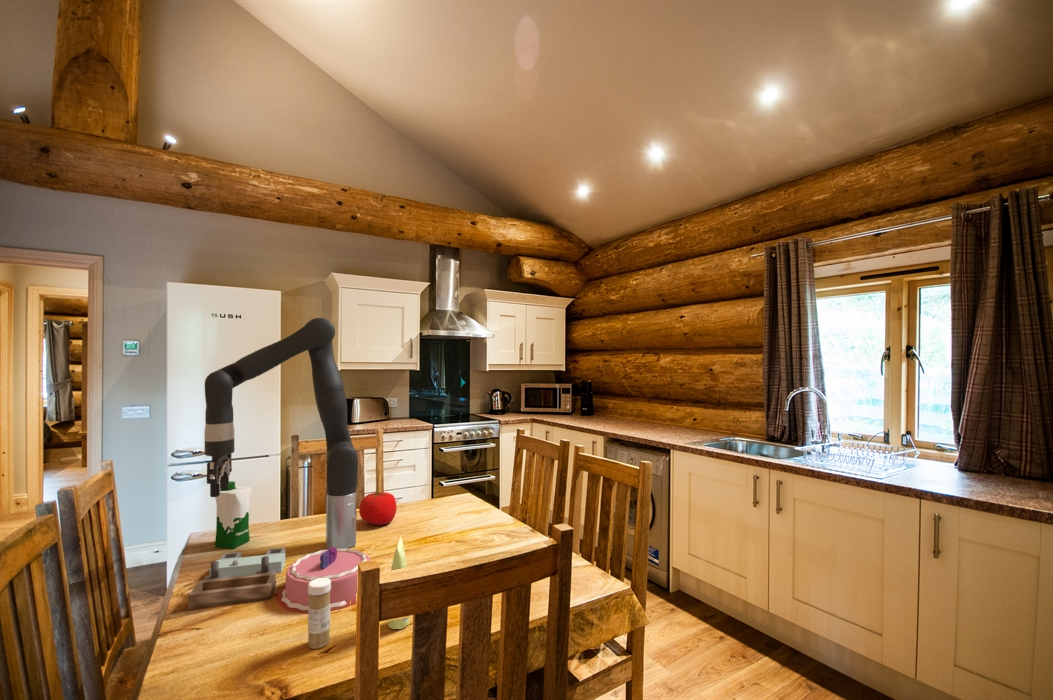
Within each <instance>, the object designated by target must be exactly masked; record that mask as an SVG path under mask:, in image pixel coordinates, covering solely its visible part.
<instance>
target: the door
mask: <svg viewBox="0 0 1053 700" xmlns="http://www.w3.org/2000/svg"><path fill="white" fill-rule="evenodd" d="M264 556H269V569H275V572H276V574H279V573H280V574H282V572H283V569H284V568H285V565H286V547H277V548H268V550H267V551H266V553H265V554H263V555H252V556H244V557H243V556H242V551H235V552H228V553H226V552H225V553H223V554H222V555H221V556H220V558H219V559H216V560H215V561H219V575H223V574H226V578H228V577H237V576H246V575H254V574H255V573H256V571H259V570H261V558H262V557H264ZM208 576H211V567H210V568H209V575H208Z"/></svg>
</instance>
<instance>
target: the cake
mask: <svg viewBox="0 0 1053 700" xmlns="http://www.w3.org/2000/svg"><path fill="white" fill-rule="evenodd" d="M363 561H370V562H371V559H370V556H369V555H368V554H366V553H365V552H362V551H360V550H358V549H351V548H344V549H337V548H335V547H331V548H329V549H328V548H327V549H321V550H319V551H316V552H311V553H307V554H306V555H305V556H303V557H300V558H298V559H297V560H295V561H294V562H293V563H292V562H291V564H289V566H288V567H287V569H286V572H285V585H284V586H282V588H281V589H280V590H279V591H278V593H277V596H276V601H277V604H278V605H279V606H280V607H281V608H282V609H284V610H285V611H289V612H293V613H298V614H308V606H309V593H308V584H309V583H310V582H311V581H312V580H315V579H318V578H328V579H330V581H331V589H330V612H335V611H338V610H342V609H346V608H348V607H352V606H354V605H356V604H357V603H356V593H357V574H358V564H359V563H360V562H363ZM350 601H351V604H350ZM350 605H351V606H350Z"/></svg>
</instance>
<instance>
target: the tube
mask: <svg viewBox="0 0 1053 700" xmlns="http://www.w3.org/2000/svg"><path fill="white" fill-rule="evenodd" d="M406 560H407V559H406V553H405V546H404V541H403V539H402V535H400V536H399V539H398V542H397V545H396V548H395V551H394V554H393V559H392V564H391V571H392V570H396V569H401V568H406V567H407V561H406ZM391 571H390V572H391ZM407 625H408V626H409V625H410V616H409V617H408V618H402V619H396V620H391V621H388V620H387V627H388V628H389V627H390V628H394V629H399V630H402V629H405V628H406V627H408V626H407ZM390 628H389V629H390Z"/></svg>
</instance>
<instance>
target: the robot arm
mask: <svg viewBox="0 0 1053 700" xmlns="http://www.w3.org/2000/svg"><path fill="white" fill-rule="evenodd" d="M335 335H336V329H335V326H334V324H333V322H331V321H330V320H329V319H327V318H324V317H314V318H313V319H310V320H308V321H307V322H306V323H305V324H304V326H302V327H300V328H299V329H298V330H296V331H295V332H294V333H292V334H291V335H289V336H286V337H284V338H282V339H280V340H278V341H276V342H273V343H271V344H269V345H266V346H263V347H262V348H259V349H257V350H255V351H253V352H251V353H249V354H246V355H245V356H243V357H241V358H239V359H238V360H237V361H234V362H233V363H230V364H228V365H226V366H223V367H222V368H219V369H217V370H215V371H212V372H211V373H209V374H208V375H207V376H206V378H205V379H204V395H205V396H204V397H205V398H204V399H205V412H204V413H205V426H204V437H203V438H204V455H205V456H207V457H211V461H209V462H208V461H207V463H206V484H207V485H208V484H209V496H210V498H215V497H218V496H219V495H220V489H228V488H229V482H230V475H231V473H232V471H233V467H232V464H233V463H232V454H234V452H235V426H234V406H233V391H234V390H233V389H234V388H236V387H238V386H240V385H242V384H243V383H245V382H247V381H251V380H252V379H255V378H258V377H259V376H261V375H263V374H265V373H267V372H269V371H271V370H273V369H274V368H276V367H277V366H279V365H282V364H283V363H284V362H286V361H289V360H290V359H292V358H294V357H296V356H297V355H299V354H302V353H304V352H306V351H308V355H309V356H308V357H309V360H310V364H311V374H312V385H313V391H314V398H315V403H316V408H317V411H318V415H319V418H320V421H321V423H322V426H323V429H324V434H325V435H324V436H325V442H326V443H325V444H326V460H327V480H326V481H327V483H326V520H325V521H326V523H325V525H326V528H325V547H326V548H327V550H328V549H329V548H331V547H335V548H337V549H344V548H348V549H350V548H351V547H356V546H357V545H356V543H357V487H358V478H359V477H358V476H359V475H358V474H359V473H358V471H359V456H358V453H357V451H356V449H355V447H354V445H353V440H352V439H351V435H350V431H349V428H348V403H347V396H346V392H345V391H346V390H345V386H344V382H343V379H342V376H341V373H340V370H339V368H338V366H337V363H336V360H335V355H334V348H333V340H334V338H335Z"/></svg>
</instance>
